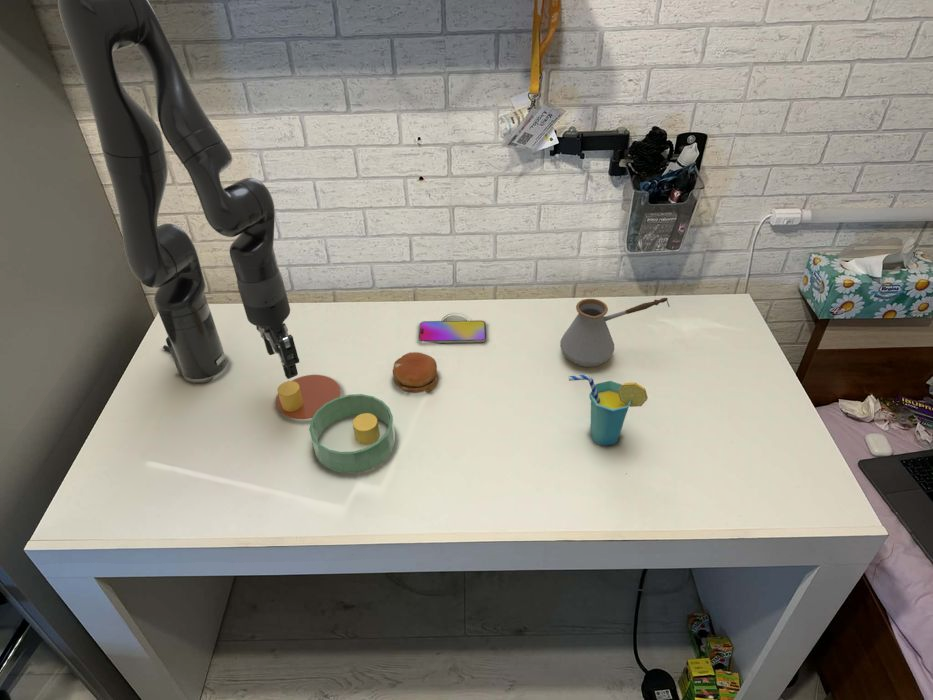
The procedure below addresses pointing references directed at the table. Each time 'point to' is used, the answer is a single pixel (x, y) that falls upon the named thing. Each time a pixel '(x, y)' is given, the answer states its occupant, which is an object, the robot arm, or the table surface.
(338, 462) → the green bowl
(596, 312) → the coffee pot
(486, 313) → the table surface
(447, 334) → the smartphone
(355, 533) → the table surface
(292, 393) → the yellow cylinder
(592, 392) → the cup
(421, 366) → the burger
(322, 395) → the plate
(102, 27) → the robot arm
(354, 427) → the yellow short cylinder
